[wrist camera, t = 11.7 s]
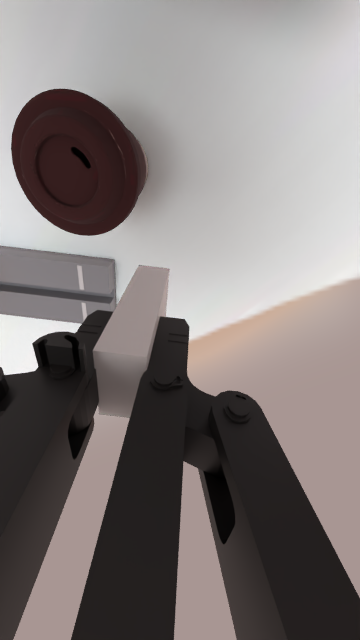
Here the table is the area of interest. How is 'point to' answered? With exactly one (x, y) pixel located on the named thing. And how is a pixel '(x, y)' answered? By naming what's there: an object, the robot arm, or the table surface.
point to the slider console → (55, 284)
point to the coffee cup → (77, 162)
